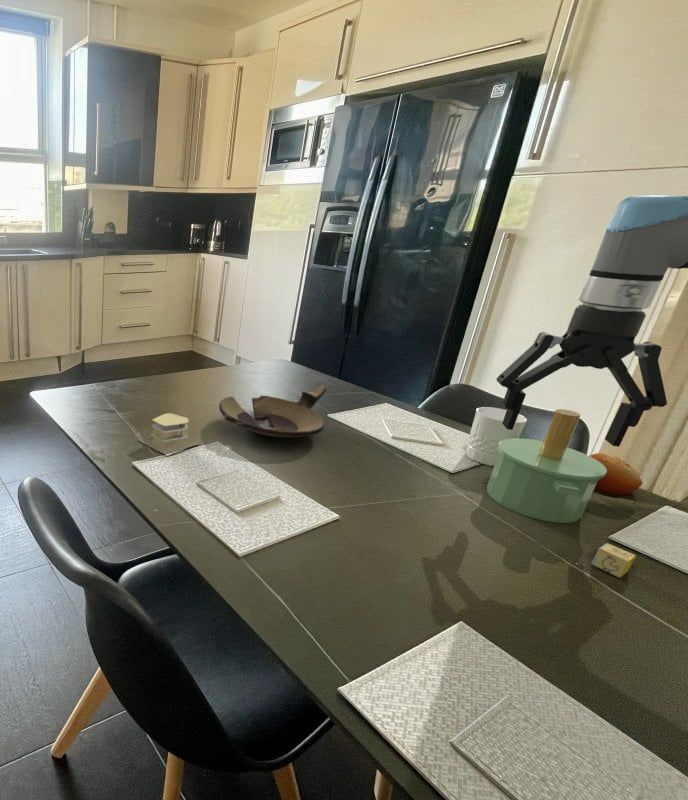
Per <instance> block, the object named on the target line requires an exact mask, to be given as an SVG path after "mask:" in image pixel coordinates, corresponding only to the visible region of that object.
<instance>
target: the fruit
mask: <svg viewBox="0 0 688 800" xmlns="http://www.w3.org/2000/svg"><path fill="white" fill-rule="evenodd" d="M589 456H590V457H592V458H594V459H596V460H597V461H599V462H600V463H602V464H603V465H604V466H605V467H606V469H607V473H606V475H605V476H604V477H603V478H601V479H599V480H598V482H597V484H596V486H595V488H594V491H597V492H601V493H600V495H601V496H605V497H610V498H613V499H619V498H620V496H628V495H630V494H632V493H634V492H636V491H638V489H640V487H642V485H643V483H644V482H643V480H642V478H641V477H640V472H639V471H638V470H637V469H635V468H634V467H633V466H631V464H629V463H628V462H627V461H625V460H624V459H621V458H620V457H618V456H616V455H611V454H606V453H602V452H598V453H597V452H596V453H592V454H590V455H589ZM615 495H616V496H615Z"/></svg>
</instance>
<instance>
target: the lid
mask: <svg viewBox="0 0 688 800" xmlns="http://www.w3.org/2000/svg"><path fill="white" fill-rule="evenodd" d="M581 416H582V415H581V414H580V413H578V412H576V411H574V410H569V409H563V408H558V409H555V411H554V414H553V416H552V418H551V421H550V423H549V426H548V428H547V431H546V433H545V436H544V438H543V440H537V439H532V438H520V437H519V438H510V439H505V440H502V441H500V442H499V445H498V449H499V451H500V452H501V453H502V454H503V455H504V456H506V457H507V458H509V459H511V460H513V461H515V462H517V463H519V464H521V465H523V466H526V467H528V468H531V469H534V470H537V471H540V472H544V473H547V474H551V475H555V476H560V477H565V478H571V479H579V480H596V479H601V478H603V477H604V476H605V475H606V473H607V469H606V467H605V466H604V465H603V464H602V463H600V462H599V461H597V460H596V459H594V458H592V457H590V455H588V454H585V453H584V452H581V451H579V450H576V449H573V448H571V447H568V446H569V444H570V441H571V439H572V437H573V435H574V432H575V430H576V428H577V425H578V422H579V420H580V417H581Z"/></svg>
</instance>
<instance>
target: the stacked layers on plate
mask: <svg viewBox="0 0 688 800" xmlns="http://www.w3.org/2000/svg"><path fill="white" fill-rule="evenodd" d="M151 421H153V422H155V423H153V424H151V427H152V429H153V430H152V432H151V433H150V436H153V443H155V444H157V445H158V446H160V447H162V448H165V447H167V446H170V445H173V444H175V441H176V440H177V439H183V438H188V432H187V430H188V429H189V425H188V423H190V420H189V418H188V417H185V416H181V415H179V414H175V413H170V412H169V413H163V414H161V415H159V416H157V417H155V418H153V419H151Z"/></svg>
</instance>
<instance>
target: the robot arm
mask: <svg viewBox="0 0 688 800" xmlns="http://www.w3.org/2000/svg"><path fill="white" fill-rule="evenodd" d="M668 269H675V270H682V269H684V270H688V195H633V196H628V197H626V198H624V199H623V200H621V201H620V202H619V203H618V204H617V206H616V208H615V210H614V211H613V213H612V216H611V217H610V220H609V222H608V224H607V226H606V227H605V230H604V234H603V237H602V239H601V243H600V245H599V248H598V251H597V254H596V256H595V259H594V262H593V264H592V267H591V270H590V272H589V274H588V276H587V279H586V281H585V283H584V286H583V288H582V291H581V292H580V296H579V298H578V300H579V302H581V303H582V304H578V306H576V307H575V309H574V310H573V314H572V316H571V318H570V321H569V324H568V327H567V330H566V332H565V333H564V334H563V335H562V336H560V335H554V334H550V333H548V332H546V331H541V332H539V333H538V335H537V337H536V338H535V340H534V342H533V344H532V345H531V346H530V347H529V348H527V349H526V350H525V351H524V352H523V353H522V354H521V355H519V357H517V359H516V360H514V361H513V362H512V363H511V364H510V365H509V366H508V367H506V368H505V370H503V372H501V373H500V374H499V375H498V376H497V377H496V382H497V383H498V384H499V385H500V386H502V387H503V388H506V391H505V394H504V398H503V401H502V406H503V408H505V410H507V411H506V414H505V417H504V419H503V422H502V424H503V425H504V426H505V427H506V429H510V430H513V427H514V424H515V422H516V419H517V417H518V414H520V412H521V409H522V406H523V403H524V401H525V398H526V396H527V393H526V392H525V391H524V390H525V389H526V388H529V387H530V386H532V385H534V384H535V383H538V382H539V381H541V380H542V379H545V378H546V377H548V376H549V375H550V376H551V375H552V374H553V373H555V372H557V371H559V370H560V369H563V368H567V367H569V366H571V365H573V366H575V367H581V368H586V367H587V368H588V367H591V368H593V369H598V370H603V369H605V368H607V369H608V370H609V372H610V374H611V376H612V377H613V378H614V379H615V382H616V383H617V384H618V386H619V387H620V389H621V391H622V392H623V394H624V395H625V396H626V398H627V400H628V401H629V402H630V403H629V402H622V401H621V402H620V404H619V408H618V409H617V411H616V414H615V416H614V417H613V420H612V422H611V424H610V426H609V429H608V431H607V433H606V435H605V437H604V440H605V441H606V442H607V443H608V444H610V445H611V446H613V447H618V448H620V446H621V444H622V441H623V440H624V438H625V436H626V434H627V432H628V429H629V427H631V428H635V427H636V426H638V425H639V421H641V418H642V416H643V414H644V412H646V411H647V412H648V411H649V410H651V409H652V408H654V407H658V408H664V407H665V406H667V404H668V400H667V395H666V391H665V386H664V382H663V378H662V377H663V376H662V372H661V367H660V363H659V359H660V355H661V353H662V349H663V348H662V346H661V345H659V344H656V343H654V342H651V341H644V342H643V343H635V339H636V337H637V336H638V334H639V332H640V330H641V327H642V326H643V323H644V321H645V319H646V317H647V314H646V312H645V311H643V310H645V309H648V308H650V307H651V305H652V303H653V301H654V299H655V296H656V295H657V292H658V289H659V288H660V286H661V283H662V281H663V279H664V278H665V275H666V273H667V271H668ZM557 345H559V347H560V349H561V350H560V351H558V352H556V353H555V354H553V355H551V356H550V358H548V359H546V360H545V361H543V362H541V363H540V364H538V365H536V366H535V367H533V368H531V369H529V368H530V367H531V366H533V365H534V364H535V363H536V362H538V360H539V359H540V358H541V357H542V356H543V355H544V354H546V353H547V351H548V350H549V349H550V350H551V349H553V348H554V347H555V346H557ZM633 352H634V356H635V357H637V360H638V365H639V369H640V375H641V378H642V384H643V389H644V392H645V396H644V394H643V392H642V390H641V389H640V388H639V386H638V385H637V383H636V382H635V380H634V379H633V377H632V375H631V374H630V372H629V371H628V370H629V369H628V367H627V366H626V364H625V363H624V361H623V359H624V358H625V357H628V356H629V355H630V354H632V353H633ZM528 369H529V370H528ZM526 370H527V371H526Z"/></svg>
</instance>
